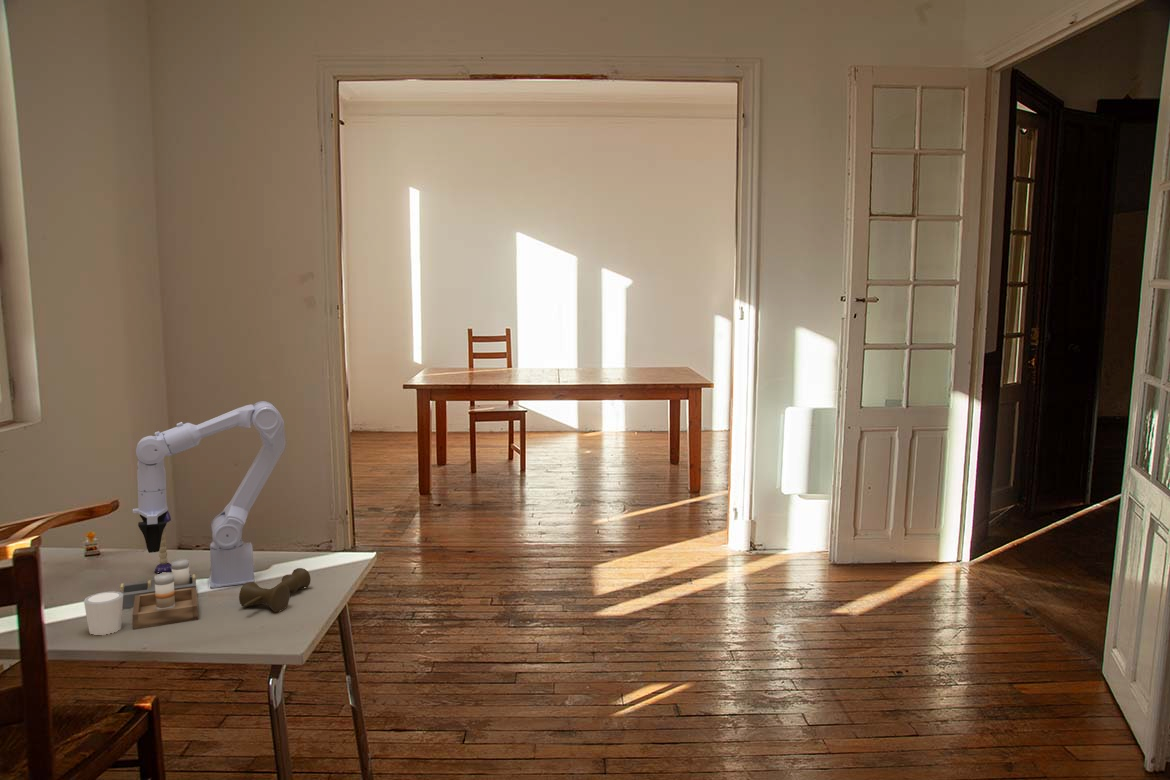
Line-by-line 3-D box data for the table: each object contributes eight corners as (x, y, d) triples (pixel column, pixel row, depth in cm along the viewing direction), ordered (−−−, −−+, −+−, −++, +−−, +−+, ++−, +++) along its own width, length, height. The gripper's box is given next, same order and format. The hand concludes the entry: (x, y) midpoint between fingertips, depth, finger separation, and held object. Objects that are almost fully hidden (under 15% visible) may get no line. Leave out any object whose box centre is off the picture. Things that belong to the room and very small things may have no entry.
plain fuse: (190, 590, 185) (188, 557, 184) (190, 596, 182) (189, 562, 181) (172, 593, 184) (171, 559, 183) (172, 598, 180) (171, 564, 180)
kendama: (320, 591, 188) (263, 622, 169) (285, 588, 190) (225, 617, 171) (320, 566, 187) (262, 594, 168) (285, 563, 190) (224, 590, 171)
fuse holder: (195, 586, 188) (195, 570, 187) (196, 598, 181) (195, 581, 180) (122, 596, 181) (121, 579, 180) (120, 609, 174) (119, 591, 173)
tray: (196, 599, 180) (196, 587, 179) (198, 619, 169) (197, 605, 169) (135, 608, 174) (134, 595, 174) (133, 629, 164) (132, 615, 163)
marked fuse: (175, 606, 174) (173, 571, 173) (175, 612, 171) (173, 576, 170) (156, 609, 172) (154, 573, 171) (155, 615, 169) (153, 579, 168)
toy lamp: (167, 574, 195) (164, 508, 193) (148, 574, 195) (144, 507, 194) (177, 568, 200) (174, 503, 198) (158, 567, 200) (155, 502, 198)
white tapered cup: (96, 639, 159) (95, 605, 158) (78, 631, 162) (77, 598, 161) (131, 628, 164) (130, 595, 164) (113, 620, 168) (112, 588, 167)
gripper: (133, 483, 187) (135, 540, 188) (130, 498, 174) (132, 558, 175) (167, 481, 190) (169, 536, 191) (166, 495, 177) (168, 554, 179)
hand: (154, 547), depth 184 cm, fingers open, 7 cm apart
